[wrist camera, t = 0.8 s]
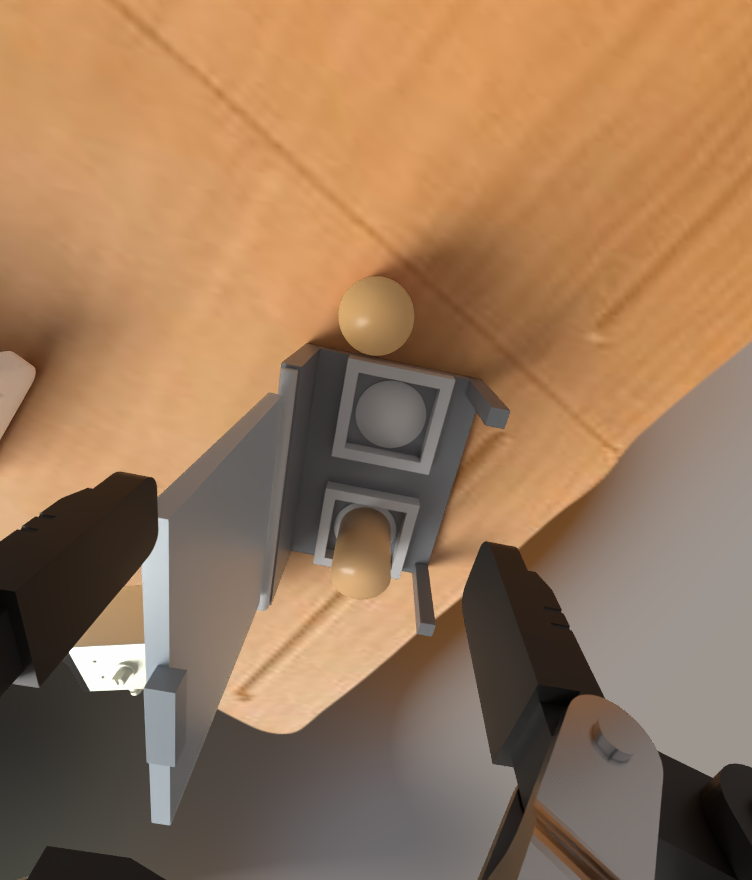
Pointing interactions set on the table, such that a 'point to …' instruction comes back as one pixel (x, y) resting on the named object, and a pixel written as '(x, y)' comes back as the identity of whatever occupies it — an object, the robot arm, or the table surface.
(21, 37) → the table surface
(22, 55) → the table surface
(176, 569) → the lid
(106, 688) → the pneumatic valve
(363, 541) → the housing
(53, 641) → the robot arm
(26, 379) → the cable organizer
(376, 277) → the beige rounded cylinder
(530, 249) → the table surface
